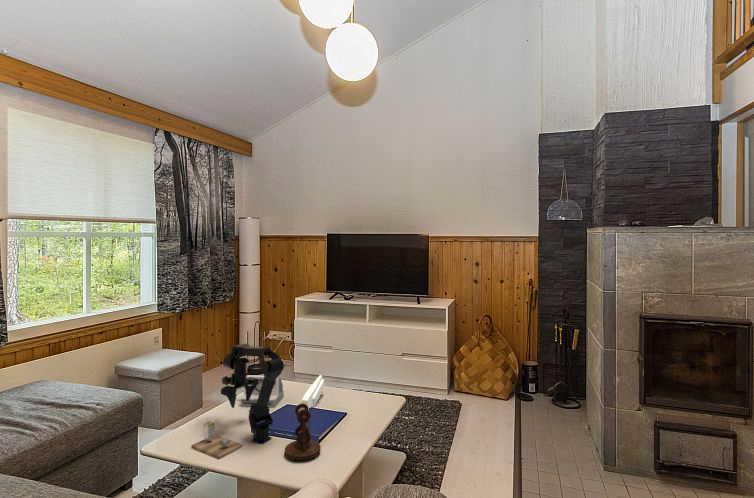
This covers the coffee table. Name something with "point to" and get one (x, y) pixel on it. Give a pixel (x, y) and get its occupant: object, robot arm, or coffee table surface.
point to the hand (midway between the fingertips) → (240, 404)
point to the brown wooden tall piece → (302, 437)
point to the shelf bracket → (314, 392)
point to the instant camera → (274, 398)
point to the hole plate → (217, 446)
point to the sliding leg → (209, 430)
